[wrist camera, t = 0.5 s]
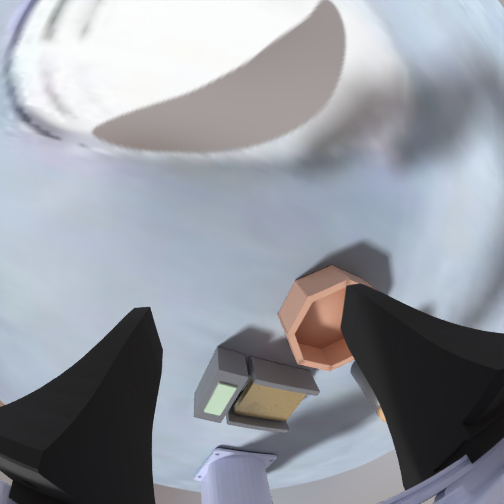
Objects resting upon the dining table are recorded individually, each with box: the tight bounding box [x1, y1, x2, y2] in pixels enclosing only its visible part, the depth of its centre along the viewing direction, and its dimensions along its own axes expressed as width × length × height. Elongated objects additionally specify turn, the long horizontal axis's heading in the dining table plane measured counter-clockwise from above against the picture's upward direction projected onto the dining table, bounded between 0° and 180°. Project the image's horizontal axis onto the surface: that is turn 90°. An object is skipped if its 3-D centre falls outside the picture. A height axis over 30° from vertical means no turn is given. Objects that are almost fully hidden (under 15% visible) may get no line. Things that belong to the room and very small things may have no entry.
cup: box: [278, 265, 376, 371], centre depth 21 cm, size 8×8×3 cm
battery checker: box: [194, 346, 320, 433], centre depth 22 cm, size 6×9×3 cm, turn 66°
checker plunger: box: [234, 378, 306, 421], centre depth 22 cm, size 4×5×1 cm
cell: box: [351, 361, 386, 422], centre depth 21 cm, size 4×4×7 cm
